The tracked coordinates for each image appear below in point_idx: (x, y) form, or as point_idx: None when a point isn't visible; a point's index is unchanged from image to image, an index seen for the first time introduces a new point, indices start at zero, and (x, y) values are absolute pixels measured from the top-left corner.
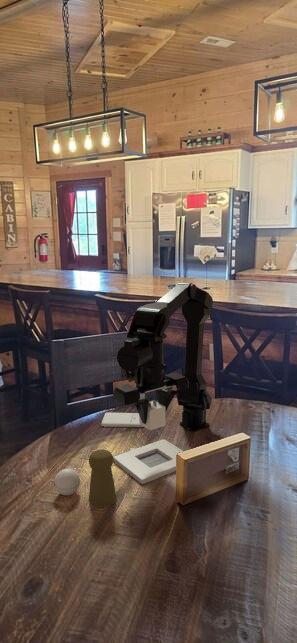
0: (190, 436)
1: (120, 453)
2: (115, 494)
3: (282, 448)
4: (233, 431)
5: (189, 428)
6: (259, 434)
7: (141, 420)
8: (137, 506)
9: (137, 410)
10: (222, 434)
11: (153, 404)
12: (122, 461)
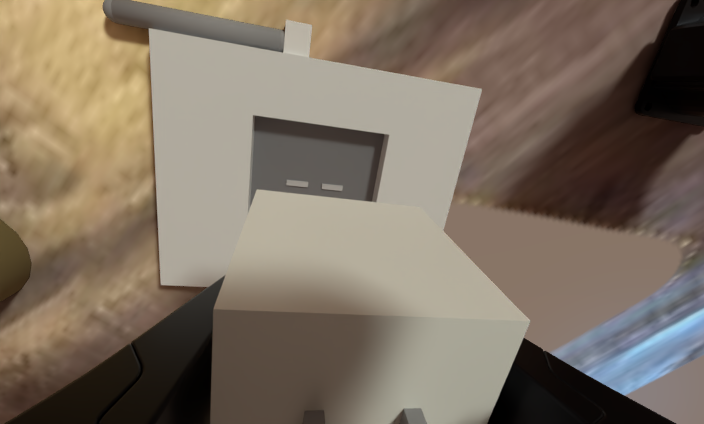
0: (586, 132)
1: (214, 24)
2: (3, 297)
3: (636, 373)
4: (692, 222)
5: (648, 84)
6: (699, 289)
7: (218, 281)
8: (79, 353)
9: (130, 344)
10: (655, 210)
11: (401, 417)
12: (168, 112)
